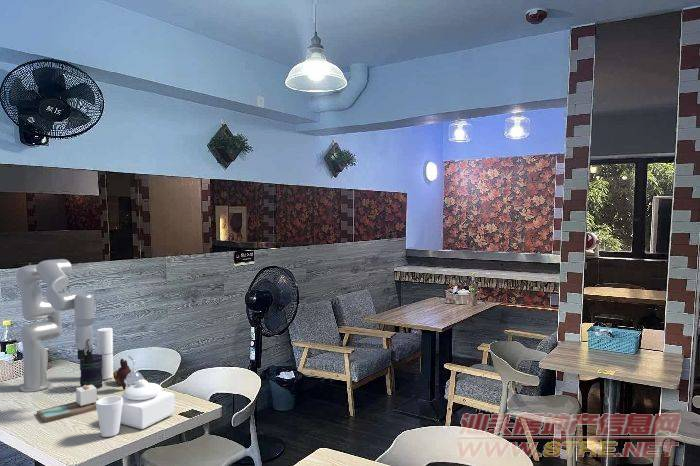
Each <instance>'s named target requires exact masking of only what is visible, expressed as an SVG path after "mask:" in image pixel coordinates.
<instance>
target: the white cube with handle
mask: <svg viewBox="0 0 700 466" xmlns="http://www.w3.org/2000/svg"><path fill="white" fill-rule="evenodd" d="M97 390H98V389H97V388H96V387H94V386H93V385H88V386H87V385H84V386H83V387H81V386H80V387H76V388H75V402H77V403H78V404H79V405H80V406H82V405H86V404H90V403H94V402H96V401H97V399H98V395H97V394H98V392H97Z"/></svg>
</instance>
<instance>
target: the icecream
mask: <svg viewBox="0 0 700 466" xmlns="http://www.w3.org/2000/svg"><path fill="white" fill-rule="evenodd" d="M119 363H120V367H119V368H118V369H117V370H118V371H117V370H116V371H117V376H116V378H117V379H119V380H120V383H121V387H122V390H123V391H125V390H126V389H127V387H126V383H124V379H126V377H127V375H128V374H129V373H130V372H132V370H131V368H130V366H129V365H128V361H127V360H125V359H124V358H121V359H120V362H119Z"/></svg>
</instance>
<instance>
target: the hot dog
mask: <svg viewBox="0 0 700 466" xmlns="http://www.w3.org/2000/svg"><path fill="white" fill-rule="evenodd" d="M117 371H118V369H117V370H115V371H113V379H114V381H115V382H116V383H117V384H118V385H121V383H120V380H119V379H117V378H116V376H117ZM121 386H122V385H121Z"/></svg>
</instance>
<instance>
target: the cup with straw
mask: <svg viewBox="0 0 700 466" xmlns="http://www.w3.org/2000/svg"><path fill="white" fill-rule="evenodd" d="M127 357H128V358H129V359H130V360H131V361H132V362H133V363H132V365H133V367H132V368H133V369H132V370H133V371H131V372H130V373H129V374H128V375H127V377H126V379H124V383H126V389H127V388H129V387H130V386H133V385H136V384H137V382H138V381H139V380H142V379H144V380H145V377H144V376H143V375H142V373H141V372H139V371H136V360H135V359H134V358H133V357H132V356H131V355H128V356H127Z"/></svg>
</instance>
